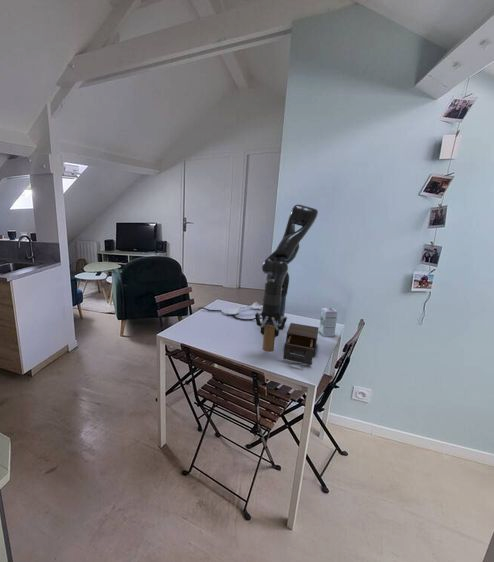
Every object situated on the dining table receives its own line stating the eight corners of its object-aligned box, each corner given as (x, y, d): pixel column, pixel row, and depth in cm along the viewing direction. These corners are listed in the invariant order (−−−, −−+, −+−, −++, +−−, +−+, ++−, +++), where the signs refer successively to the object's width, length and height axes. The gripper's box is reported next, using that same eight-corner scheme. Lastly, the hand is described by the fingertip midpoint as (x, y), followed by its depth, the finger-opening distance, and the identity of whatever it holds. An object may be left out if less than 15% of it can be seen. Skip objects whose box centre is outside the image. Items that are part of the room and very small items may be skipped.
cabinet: (314, 356, 149) (316, 338, 146) (284, 350, 156) (286, 332, 153) (316, 344, 160) (318, 327, 158) (288, 339, 167) (290, 322, 165)
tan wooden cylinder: (261, 350, 151) (263, 327, 148) (263, 346, 155) (265, 324, 152) (272, 352, 149) (274, 329, 146) (274, 348, 153) (276, 325, 149)
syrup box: (334, 336, 168) (338, 311, 165) (322, 336, 170) (326, 311, 166) (330, 332, 174) (333, 307, 170) (318, 331, 175) (321, 307, 171)
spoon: (266, 309, 211) (266, 304, 210) (227, 317, 201) (227, 312, 200) (256, 305, 219) (256, 301, 219) (218, 313, 209) (218, 308, 208)
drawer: (310, 369, 137) (312, 353, 135) (281, 362, 143) (283, 347, 141) (313, 352, 151) (315, 337, 149) (287, 347, 157) (288, 333, 155)
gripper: (290, 301, 145) (286, 335, 149) (257, 297, 153) (255, 329, 157) (288, 306, 139) (284, 341, 143) (253, 302, 147) (251, 335, 151)
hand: (269, 335), depth 150 cm, fingers closed on tan wooden cylinder, 5 cm apart
